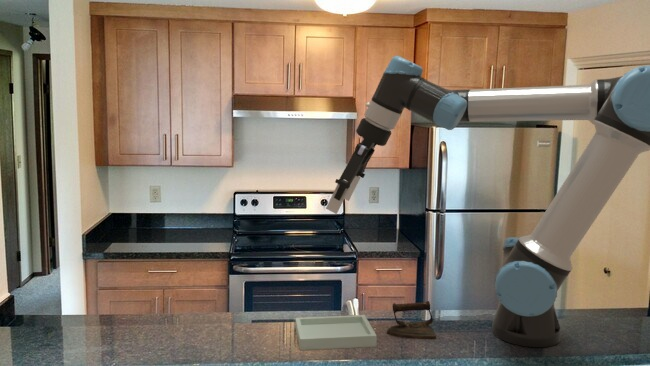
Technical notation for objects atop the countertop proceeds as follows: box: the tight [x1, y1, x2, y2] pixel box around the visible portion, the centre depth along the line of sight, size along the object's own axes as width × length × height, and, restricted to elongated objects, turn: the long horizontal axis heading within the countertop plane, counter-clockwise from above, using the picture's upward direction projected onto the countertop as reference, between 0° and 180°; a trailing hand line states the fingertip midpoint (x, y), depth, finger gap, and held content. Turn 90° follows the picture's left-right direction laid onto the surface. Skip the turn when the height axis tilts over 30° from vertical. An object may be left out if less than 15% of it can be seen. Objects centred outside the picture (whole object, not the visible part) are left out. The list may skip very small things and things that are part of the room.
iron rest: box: [294, 314, 378, 351], centre depth 126 cm, size 17×13×2 cm
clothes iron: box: [386, 300, 437, 340], centre depth 127 cm, size 7×11×10 cm, turn 94°
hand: (337, 204), depth 129 cm, fingers open, 13 cm apart
